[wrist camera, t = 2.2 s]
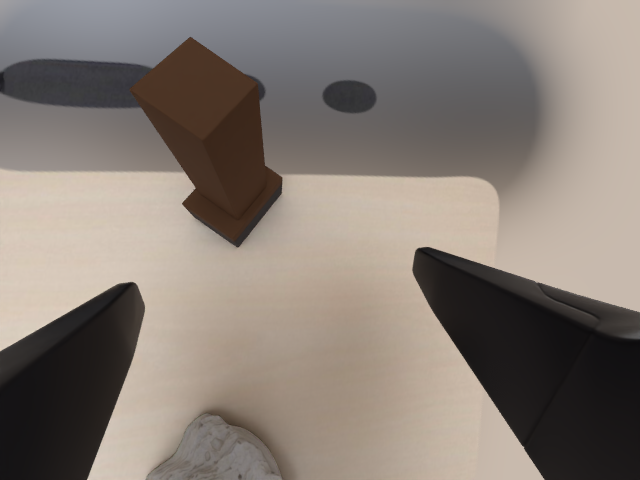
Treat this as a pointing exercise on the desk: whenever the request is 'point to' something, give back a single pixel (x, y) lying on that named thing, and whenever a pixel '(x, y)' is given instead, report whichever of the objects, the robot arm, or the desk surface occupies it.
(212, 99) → the stamp
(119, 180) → the desk surface
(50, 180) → the desk surface
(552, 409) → the robot arm
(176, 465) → the stone
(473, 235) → the desk surface
